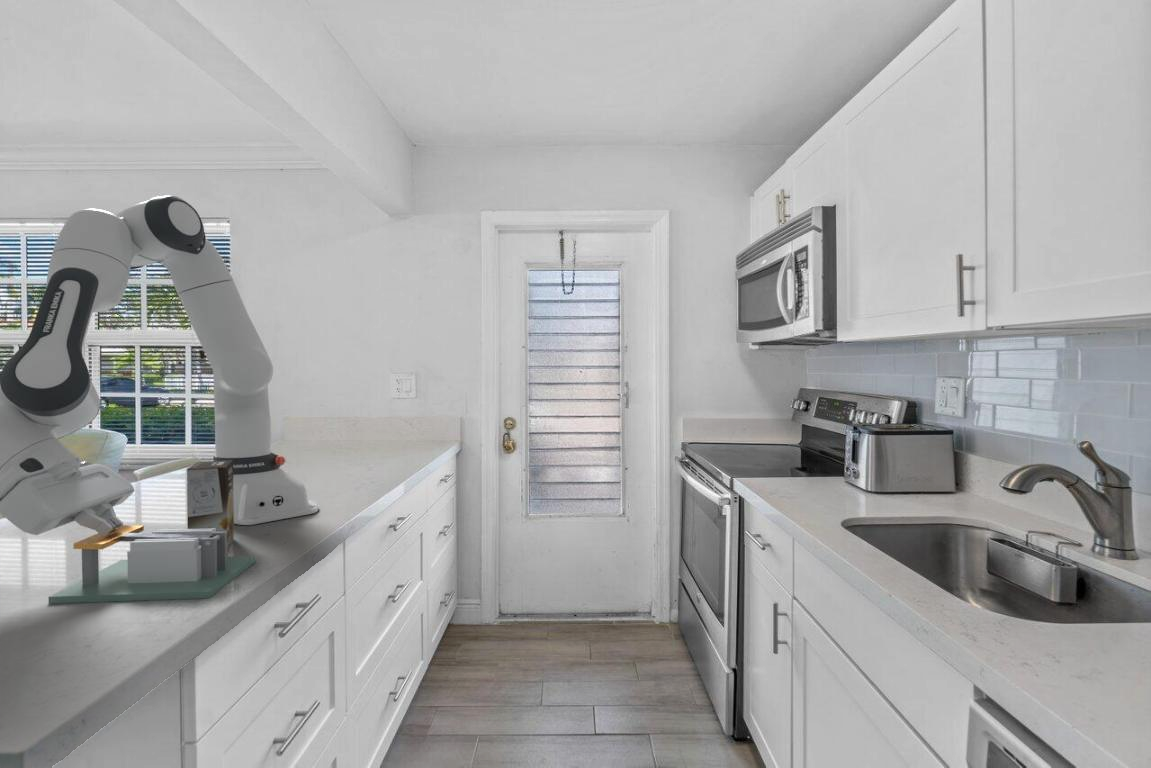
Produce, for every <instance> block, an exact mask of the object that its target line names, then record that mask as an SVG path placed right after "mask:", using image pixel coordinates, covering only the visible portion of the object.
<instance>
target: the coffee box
mask: <svg viewBox="0 0 1151 768" xmlns="http://www.w3.org/2000/svg"><path fill="white" fill-rule="evenodd" d="M186 482H187V483H186V492H187V493H186V495H187V496H186V498H187V500H186V501H187V504H186V505H187V509H186V510H187V511H186V512H187V529H208V528H216V532H226V531H227V551H228V550H229V548H230V547H231V545H232V543H233V542H234V541H235V524H234V488H233V460H222V461H213V460H210V461H198V462H196V463H194V464H193V465H190V466H189V467H188V468H187V469H186Z"/></svg>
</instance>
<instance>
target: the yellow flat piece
mask: <svg viewBox="0 0 1151 768" xmlns="http://www.w3.org/2000/svg"><path fill="white" fill-rule="evenodd" d="M144 527H145V526H144V525H133V524H132V525H128V524H127V525H126V524H125V525H124V524H123V526H122V527H121V528H120V529H119V530H117V531H115V532H112V533H110V534H108V535H106V536H102V535H100V534H99V533H98V532H97V533H95V534H93V535H91V536H88V537H86V538H83V539H80V540H79V541H77V542H74V543H73V549H75V550H82V549H98V550H104V549H106V548H108V547H111V546H113V545H115V544H117V543H119V542H129V543H130V542H132V541H134V540H136V539H175V538H199V543H201V539H202V538H212V535H182V534H152V533H144V529H145V528H144Z"/></svg>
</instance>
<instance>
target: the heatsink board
mask: <svg viewBox="0 0 1151 768" xmlns="http://www.w3.org/2000/svg"><path fill="white" fill-rule="evenodd" d="M151 534H182V535H212V538H202V539H201V543H199V538H175V539H136V540H134V541H132V542H130V541H129V550H127V552H126V554H127V559H121V560H119V561H116V562H114V563H112V564H110V565H109V566H106V567H104V568H102V569H101V570H99V568H100V567H99V549H81V576H82V577H81V580H79V581H77V582H74V583H73V584H71V585H69V586H67V587H65V588H63V589H61V590H59V591H57V592H55V593H54V594H51V595H49V596H48V597H47V598H48V604H49V605H50V604H75V603H76V604H77V603H81V604H82V603H102V602H103V603H106V602H109V601H110V602H133V601H135V600H136V602H137V601H161V600H162V601H166V600H167V601H168V600H188V599H189V600H190V599H195V600H196V599H210V598H211V597H212V596H214V595H215V594H216V593H218V592H219V591H220V590H221V589H223V588H224V587H225V586H226V585H228V584H229V583H231V582H232V581H233V580H235V579H236V578H237V577H238V576H240V575H241V574H242V573H243V572H245V571H246V570H247V569H249V567H251V566H252V565H254V564H255V563H256V562H257V560H256V559H257V558H256V556H255V555H254V556H253V555H252V556H251V555H250V556H228V550H227V531H226V532H216V528H208V529H188V528H172V529H171V528H169V529H168V528H167V529H166V528H165V529H164V528H163V529H155V530H153V531H152V532H151ZM132 600H133V601H132Z"/></svg>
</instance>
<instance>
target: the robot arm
mask: <svg viewBox="0 0 1151 768" xmlns="http://www.w3.org/2000/svg"><path fill="white" fill-rule="evenodd" d="M204 227H205V226H204V223H203V220H202V218H201V217H200V215H199V213H198V212H197V210H196V209H195V208H194V207H193V206H192V205H191V204H190V203H188V201H186V200H184V199H182V197H179V196H174V195H162V196H156V197H152V198H150V199H149V200H146V201H141V202H138V203H136V204H135V203H134V204H133V205H130V206H128V207H125V208H124V209H123V210H121V211H119V212H117V213H115V214H114V213H111V212H109V211H106V210H104V209H103V210H102V209H98V208H83V209H80V210H77V211H75V212H73V213H71V215H70V216H69V217H68V219H67V221H65V223H64V225H63V226H62V228H61V231H60V232H59V233H58V237H57V238H56V241H55V244H54V247H53V250H52V253H51V257H50V260H49V265H48V269H47V276H46V286H45V287H46V288H45V290H44V293H43V296H42V299H41V301H40V305H39V308H38V310H37V312H36V316H35V319H34V321H33V325H32V328H31V330H30V332H29V335H28V337H27V339H26V341H24V344H23V345H22V346H21V347H19V349H18V350H17V352H15V353H14V354H13V355H12V356H11V357H10V358H9V359H8V361H6V363H5V365H4V366H3V368H2V370H1V373H0V514H1V515H2V516H3V517H4V518H5V519H7V521H8V522H10V523H11V524H13V526H15V527H16V528H18V529H19V530H20V531H22V532H24V533H26V534H29V535H32V536H33V535H34V536H38V535H41V534H44V533H46V532H49V531H52V530H54V529H57V528H59V527H62V526H65V525H68V524H70V523H73V522H75V523H77V524H78V525H79V526H81V527H84V528H88V529H91V530H93V531H96V532H97V534H98V533H99V534H100V535H102V536H106V535H108V534H110V533H112V532H115V531H117V530H119V529H120V528H121V527H122V526H123V525H124V523H123V521H121V519H120V518H119V517H117V515H116V512H115V510H114V507H116V506H119V505H122V504H123V503H124V502H125V501H126V500H128V498H129V497H130V496H132V494H133V493H134V492H135V488H134V486H133V484H132V483H131V482H130V481H128V480H127V479H126V478H125V477H123V476H122V475H121V474H119V473H118V472H117V471H115V470H113V469H111V468H110V467H108V466H107V465H104V464H102V463H91V462H89V461H87V460H86V461H82V460H81V458H80V457H79V456H77V454H75V453H74V452H73V451H72V450H71V449H70V448H68V447H67V446H66V445H65V444H63V442H62V441H60V439H62V438H64V437H66V436H68V435H71V434H73V433H75V432H77V431H78V430H81V429H83V428H84V427H86V426H88V425H89V424H92V422H93V421H94V420H95V418H96V417H98V414H99V412H100V409H101V401H100V397H99V395H98V391H97V390H96V387H95V385H94V384H93V382H92V379H91V376H90V372H89V369H88V366H87V364H86V361H85V359H84V356H83V347H84V344H85V341H86V336H87V332H88V329H89V325H90V322H91V319H92V314H93V313H102V312H105V311H109V310H112V309H113V308H115V307H117V306H118V305H120V302H121V300H122V298H123V296H124V295H125V292H126V289H127V286H128V282H129V280H130V279H129V278H130V274H131V273H130V272H131V270H137V269H140V268H143V267H144V266H148V265H153V264H156V263H160V264H162V266H163V267H165V268H166V270H168V272H169V275H170V278H171V281H172V284H173V286H174V288H175V291H176V293H177V295H178V298H179V300H180V302H181V304H182V306H183V308H184V311H185V313H186V316H187V317H188V320H189V322H190V324H191V326H192V329H193V331H194V332H195V333H194V334H195V335H196V338H198V342H199V344H200V345H201V347H202V349H203V351H204V353H205V355H206V358H207V360H208V362H209V365H210V366H211V369H212V372H213V373H212V374H213V375H212V376H213V403H214V404H213V405H214V438H215V439H214V441H215V443H214V446H215V447H214V448H215V449H214V450H215V451H214V452H215V453H214V454H215V455H214V456H213V459H212V461H222V460H233V488H234V525H242V526H252V525H257V524H263V523H269V522H273V521H274V522H275V521H279V520H284V519H290V518H295V517H301V516H307V515H311V514H316V513H317V512H319V505H318V504H317V502H316V501H314V500H312V499H309V496H308V491H307V487H306V486H305V484H304V483H303V482H302V481H301V480H299V479H298V478H297V477H295V476H294V475H292V474H290V473H289V472H287V471H285V470H283V468H281V466H283V465H285V463H286V461H287V459H286V458H285V457H284V456H282V455H278V454H276V453H273V452H272V438H271V437H272V426H271V424H272V421H271V411H270V410H271V409H270V402H269V401H270V399H269V389H268V388H269V384H270V382H271V381H272V379H273V376H274V375H273V374H274V367H273V362H272V360H271V358H270V356H269V353H268V352H267V350H266V347H265V346H264V344H263V341H262V339H261V337H260V335H259V333H258V331H257V329H256V328H255V325H254V323H253V322H252V319H251V317H250V316H249V313H248V312H247V310H246V307H245V304H244V302H243V300H242V297H241V295H240V293H239V290H238V288H237V286H236V283H235V282H234V279H233V276H232V274H231V271H230V270H229V268H228V266H227V264H226V263H225V261H224V259H223V257H222V256H221V255H220V253H219V251H218V250H217V249H216V246H214V244H213V243H212V242H211V241H210V240H208V239H207V238H206V232H205V228H204Z"/></svg>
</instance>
